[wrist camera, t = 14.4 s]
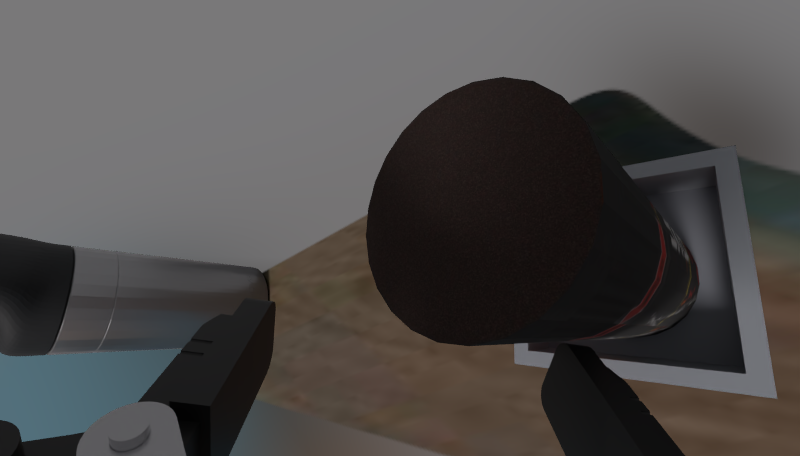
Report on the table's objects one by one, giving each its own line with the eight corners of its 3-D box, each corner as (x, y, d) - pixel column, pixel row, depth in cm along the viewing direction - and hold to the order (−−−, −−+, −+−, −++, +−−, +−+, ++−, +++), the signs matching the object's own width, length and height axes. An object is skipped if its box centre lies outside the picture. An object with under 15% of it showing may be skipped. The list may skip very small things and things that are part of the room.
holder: (543, 358, 22) (514, 363, 19) (537, 204, 24) (510, 187, 21) (767, 384, 16) (777, 398, 13) (733, 174, 18) (735, 145, 15)
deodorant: (736, 287, 16) (698, 198, 5) (618, 361, 18) (429, 402, 8) (630, 197, 19) (479, 33, 9) (543, 269, 22) (341, 209, 11)
